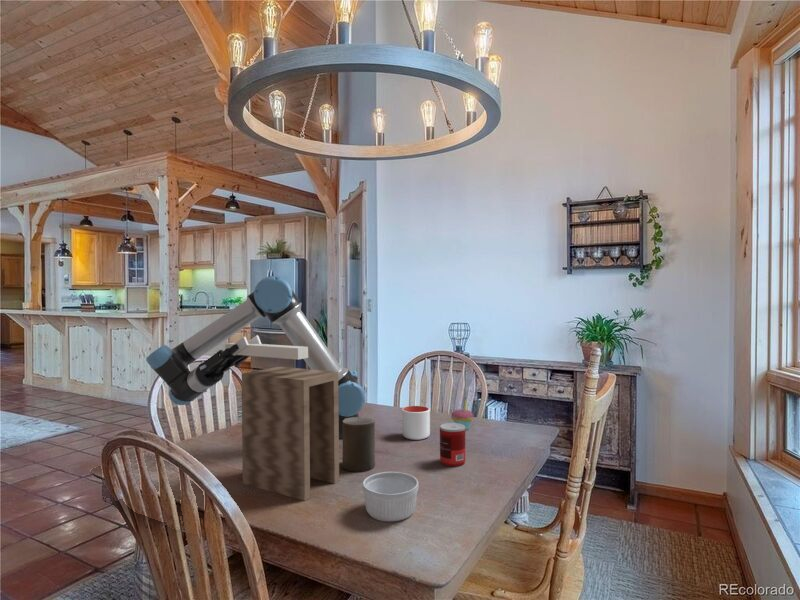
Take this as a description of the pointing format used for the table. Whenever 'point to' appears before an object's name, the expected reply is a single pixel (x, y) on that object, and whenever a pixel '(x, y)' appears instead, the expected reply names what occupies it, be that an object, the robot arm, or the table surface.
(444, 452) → the canned food
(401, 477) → the ramekin
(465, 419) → the cupcake
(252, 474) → the stand
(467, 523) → the table surface
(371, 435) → the pillar candle
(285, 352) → the bar
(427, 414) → the cup
